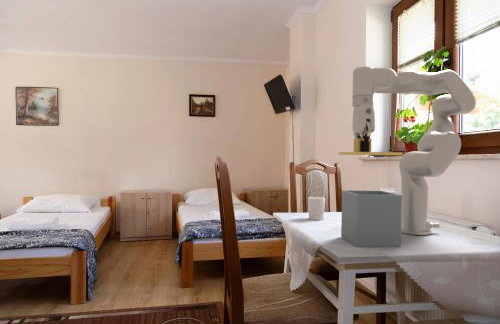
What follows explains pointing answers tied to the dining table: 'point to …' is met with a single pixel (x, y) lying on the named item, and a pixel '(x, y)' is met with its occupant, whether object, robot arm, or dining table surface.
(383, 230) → the tub
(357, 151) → the lid
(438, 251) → the dining table surface
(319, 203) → the white cup
